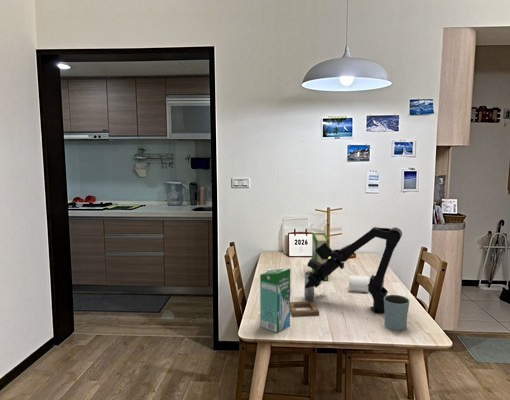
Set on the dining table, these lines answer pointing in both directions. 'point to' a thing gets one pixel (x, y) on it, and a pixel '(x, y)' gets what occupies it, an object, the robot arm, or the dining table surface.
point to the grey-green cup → (396, 312)
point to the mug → (358, 283)
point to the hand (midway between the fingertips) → (306, 285)
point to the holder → (297, 313)
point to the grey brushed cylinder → (308, 291)
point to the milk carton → (275, 299)
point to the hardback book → (317, 241)
